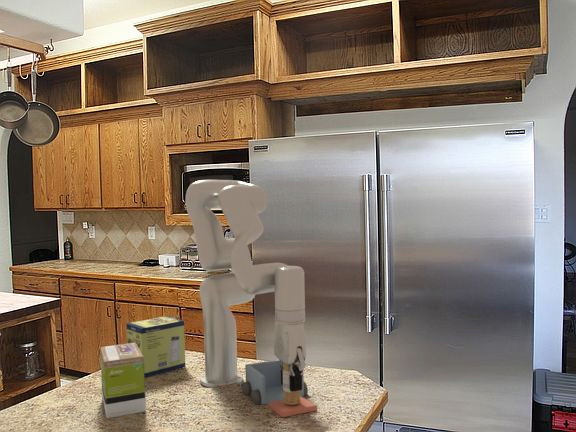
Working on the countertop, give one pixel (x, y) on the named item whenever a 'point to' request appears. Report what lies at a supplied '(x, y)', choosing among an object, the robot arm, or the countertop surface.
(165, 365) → the protein box
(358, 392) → the countertop surface
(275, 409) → the panel
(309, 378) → the countertop surface
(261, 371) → the box
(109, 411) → the tea box
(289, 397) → the sprinkles bottle
